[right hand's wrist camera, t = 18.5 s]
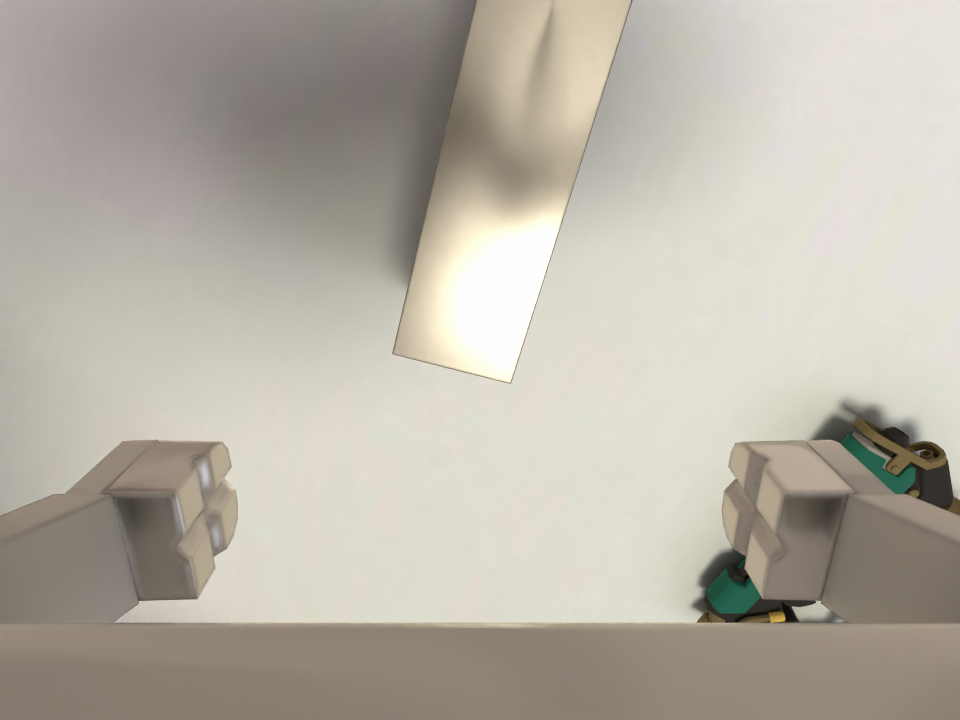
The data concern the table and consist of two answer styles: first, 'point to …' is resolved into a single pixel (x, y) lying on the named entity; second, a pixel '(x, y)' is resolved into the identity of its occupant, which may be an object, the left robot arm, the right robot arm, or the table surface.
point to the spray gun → (890, 464)
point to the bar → (505, 178)
